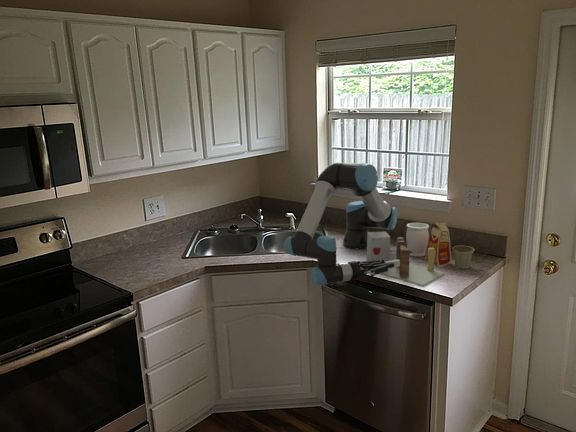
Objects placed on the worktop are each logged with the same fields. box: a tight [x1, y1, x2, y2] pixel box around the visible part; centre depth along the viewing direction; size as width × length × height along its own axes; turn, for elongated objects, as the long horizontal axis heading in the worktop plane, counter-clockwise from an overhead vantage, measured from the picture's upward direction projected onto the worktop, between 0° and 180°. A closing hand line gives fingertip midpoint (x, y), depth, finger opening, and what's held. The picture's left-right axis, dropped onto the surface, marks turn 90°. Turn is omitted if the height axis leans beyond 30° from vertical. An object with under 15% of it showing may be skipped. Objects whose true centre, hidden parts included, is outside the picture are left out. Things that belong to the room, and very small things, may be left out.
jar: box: [405, 222, 430, 258], centre depth 234 cm, size 11×10×15 cm
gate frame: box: [380, 236, 446, 288], centre depth 209 cm, size 21×18×14 cm
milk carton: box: [424, 221, 452, 268], centre depth 221 cm, size 9×9×20 cm
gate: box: [398, 240, 413, 277], centre depth 209 cm, size 14×5×12 cm, turn 175°
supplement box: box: [366, 231, 391, 262], centre depth 221 cm, size 9×9×15 cm
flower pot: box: [451, 245, 475, 270], centre depth 217 cm, size 9×9×9 cm
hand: (398, 262), depth 202 cm, fingers closed
